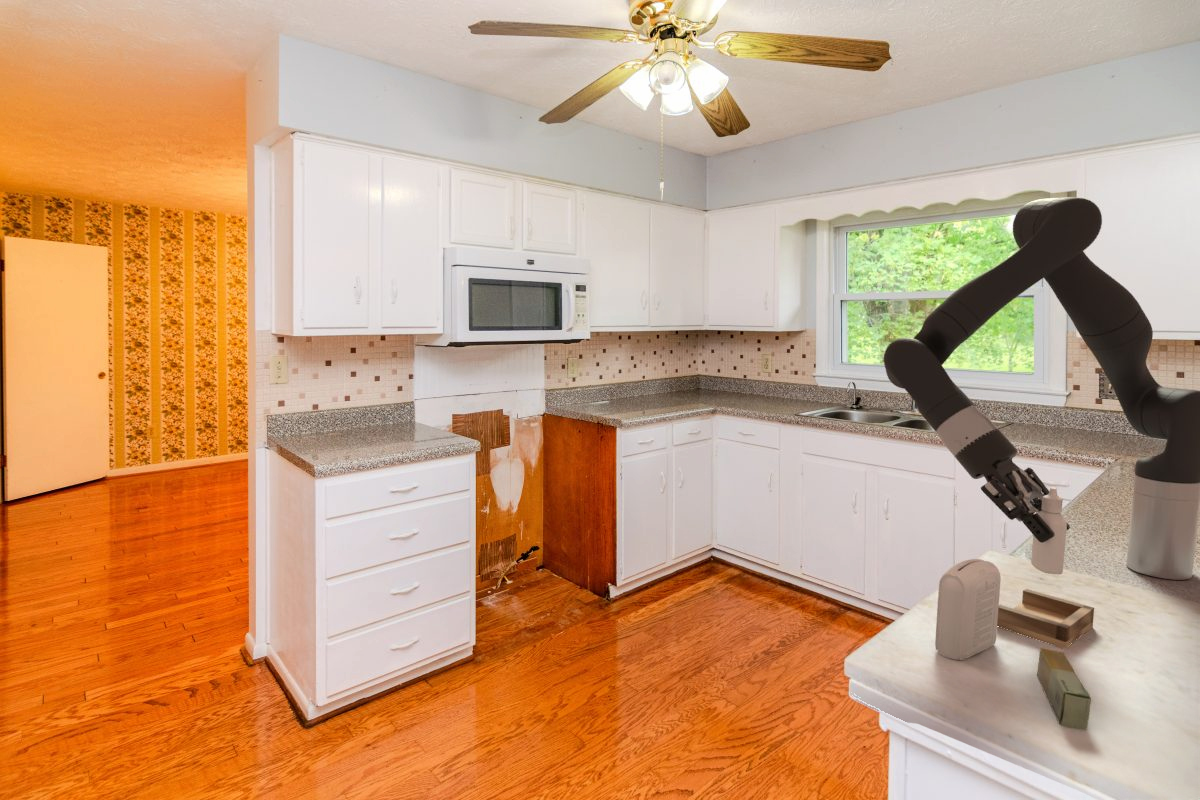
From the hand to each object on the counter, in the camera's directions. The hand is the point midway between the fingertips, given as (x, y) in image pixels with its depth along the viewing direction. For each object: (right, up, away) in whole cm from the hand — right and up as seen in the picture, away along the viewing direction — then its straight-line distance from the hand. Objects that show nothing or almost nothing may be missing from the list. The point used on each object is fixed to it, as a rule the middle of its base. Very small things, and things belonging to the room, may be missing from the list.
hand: (1056, 535), depth 97 cm
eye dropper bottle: (-1, -5, +1) cm, 5 cm away
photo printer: (-15, -15, -4) cm, 22 cm away
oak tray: (0, -14, +2) cm, 14 cm away
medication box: (-11, -17, -17) cm, 26 cm away
